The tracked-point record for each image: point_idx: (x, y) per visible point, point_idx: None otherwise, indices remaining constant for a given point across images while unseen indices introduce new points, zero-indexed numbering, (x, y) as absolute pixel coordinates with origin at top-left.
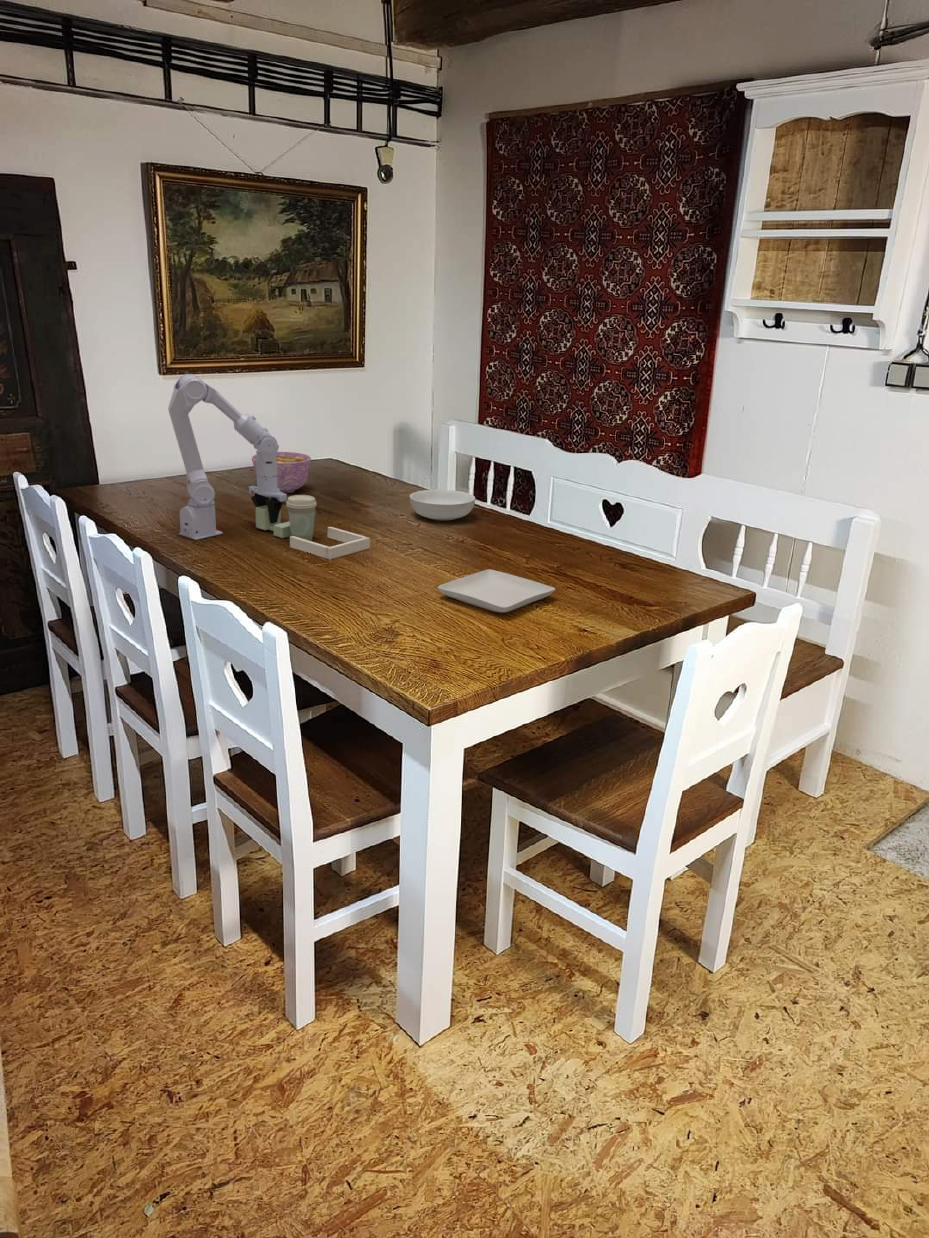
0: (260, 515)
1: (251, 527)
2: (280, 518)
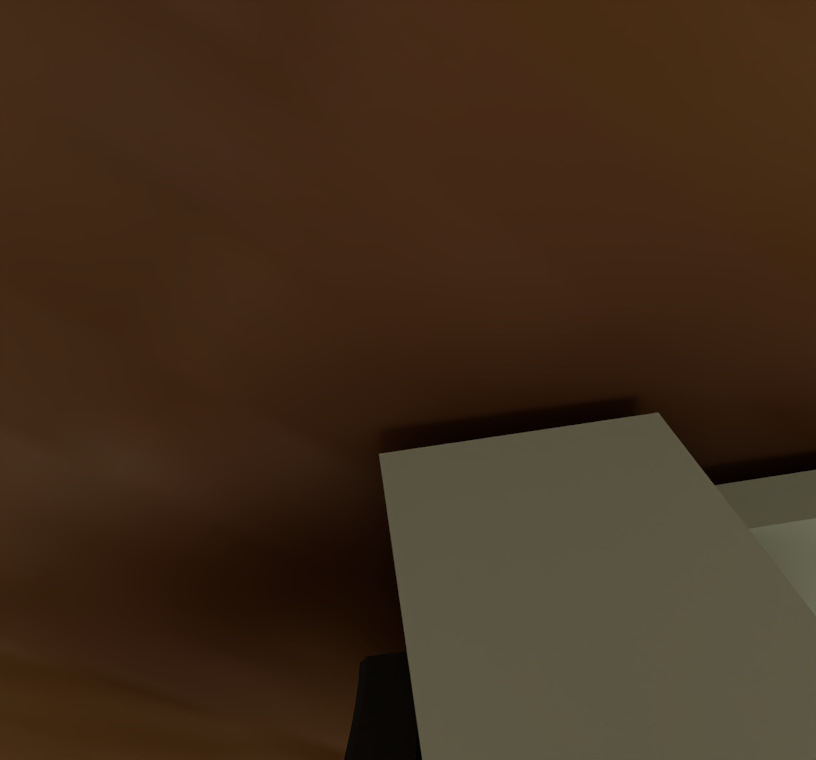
0: None
1: (266, 689)
2: (748, 534)
